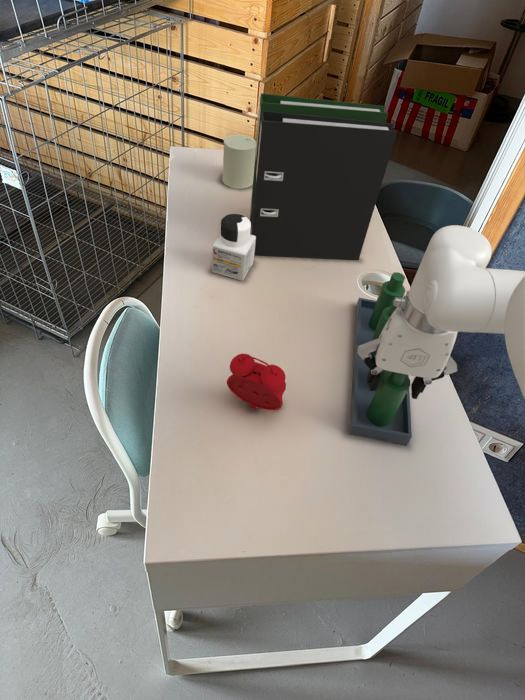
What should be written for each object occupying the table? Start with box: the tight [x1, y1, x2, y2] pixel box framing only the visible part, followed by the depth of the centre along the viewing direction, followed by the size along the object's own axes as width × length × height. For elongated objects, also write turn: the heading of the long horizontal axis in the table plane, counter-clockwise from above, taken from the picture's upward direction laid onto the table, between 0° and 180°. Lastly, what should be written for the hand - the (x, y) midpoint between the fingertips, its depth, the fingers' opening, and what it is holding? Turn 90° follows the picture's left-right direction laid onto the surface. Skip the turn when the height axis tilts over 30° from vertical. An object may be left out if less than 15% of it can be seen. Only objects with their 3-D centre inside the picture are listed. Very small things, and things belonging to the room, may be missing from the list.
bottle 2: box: [371, 300, 397, 356], centre depth 93 cm, size 5×5×14 cm
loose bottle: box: [367, 371, 411, 427], centre depth 82 cm, size 5×5×14 cm
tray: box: [349, 297, 413, 446], centre depth 95 cm, size 34×10×3 cm, turn 170°
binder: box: [249, 93, 398, 261], centre depth 111 cm, size 27×15×32 cm, turn 91°
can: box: [221, 134, 257, 190], centre depth 136 cm, size 9×9×12 cm
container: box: [211, 213, 256, 281], centre depth 108 cm, size 8×8×13 cm
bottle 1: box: [369, 271, 406, 331], centre depth 98 cm, size 5×5×14 cm
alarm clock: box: [226, 353, 287, 411], centre depth 81 cm, size 10×6×15 cm, turn 67°
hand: (392, 387), depth 81 cm, fingers open, 6 cm apart
